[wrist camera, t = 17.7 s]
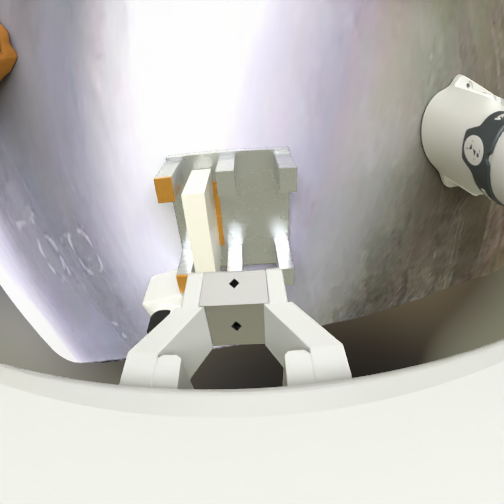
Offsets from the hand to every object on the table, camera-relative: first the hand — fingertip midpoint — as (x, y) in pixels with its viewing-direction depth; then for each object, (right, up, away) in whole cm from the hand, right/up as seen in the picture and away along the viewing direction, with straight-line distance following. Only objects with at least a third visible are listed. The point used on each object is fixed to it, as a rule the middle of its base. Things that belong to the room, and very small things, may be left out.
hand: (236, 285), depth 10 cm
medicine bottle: (-12, -5, +41) cm, 43 cm away
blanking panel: (-6, +6, +32) cm, 33 cm away
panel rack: (-2, +7, +33) cm, 34 cm away
